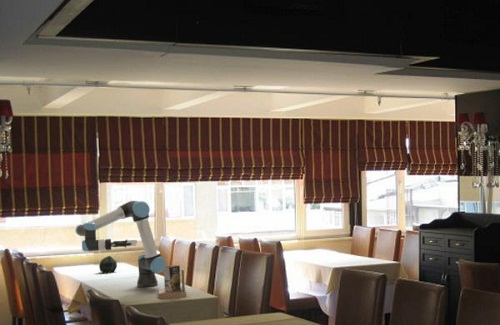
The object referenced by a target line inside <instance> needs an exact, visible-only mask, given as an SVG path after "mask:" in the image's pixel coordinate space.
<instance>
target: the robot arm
mask: <svg viewBox="0 0 500 325" xmlns="http://www.w3.org/2000/svg"><path fill="white" fill-rule="evenodd" d="M150 209H151V208H150V205H149V204H148V203H147V202H146V201H143V200H129V201H128V202H126V203H123V204H122V205H120V206H118V207H117V208H116V209H114V210H112V211H110V212H108V213H106V214H103V215H100V216H99V217H96V218H93V219H92V220H90V221H88V222H85V223H83V224H79V225H77V226H76V227H75V234H76V235H77V236H79V237H84V240H82V241H81V250H82V251H83V252H96V251H97V252H98V251H99V252H103V251H111V250H112V248H120V247H121V248H122V247H124V248H127V247H136V246H137V244H138V239H132V240H131V239H125V240H114V241H112V239H110V238H106V239H105V238H103V239H101V238H99V239H97V232H96V231H98V230H100V229H102V228H103V227H106V226H108V225H110V224H113V223H114V222H117V221H119V220H124V219H127V218H132V221H133V222H134V223H135V224H136V226H137V230H138V233H139V235H140V236H139V237H140V240H141V243H142V247H143V250H144V253H145V254H139V255H138V256H137V263H138V278H137V282H136V287H138V288H149V287H155V286H158V285H159V283H158V279H157V276H156V274H160V273H162V272H164V267H166V265H167V263H166V262H167V261H166V260H165V258H164V257H162V255H161V252H160V251H158V248H157V246H156V242H155V239H154V235H153V232H152V229H151V225H150V222H149V219H150V211H151V210H150Z"/></svg>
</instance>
